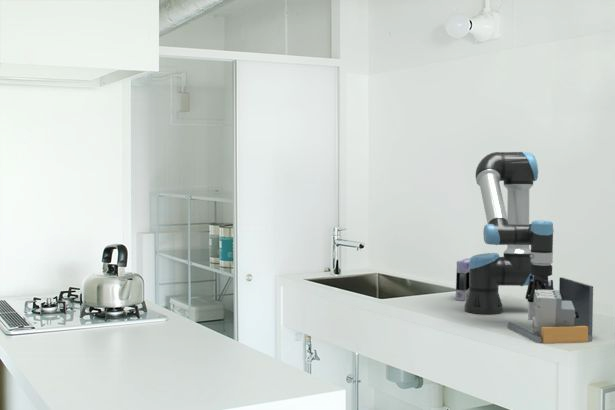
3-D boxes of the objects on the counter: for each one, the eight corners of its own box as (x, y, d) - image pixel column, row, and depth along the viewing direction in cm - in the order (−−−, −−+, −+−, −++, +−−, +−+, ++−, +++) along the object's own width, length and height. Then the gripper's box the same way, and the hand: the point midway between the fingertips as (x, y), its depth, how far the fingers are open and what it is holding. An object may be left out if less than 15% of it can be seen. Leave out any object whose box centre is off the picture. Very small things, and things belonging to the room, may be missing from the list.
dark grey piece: (507, 327, 281) (508, 278, 280) (561, 326, 284) (562, 277, 283) (537, 342, 256) (538, 288, 255) (596, 340, 259) (597, 287, 258)
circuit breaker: (578, 340, 260) (580, 299, 256) (534, 338, 262) (536, 297, 258) (575, 331, 267) (577, 290, 263) (532, 329, 269) (534, 289, 265)
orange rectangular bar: (541, 341, 257) (541, 327, 257) (585, 340, 260) (585, 325, 259) (543, 343, 255) (544, 328, 255) (588, 341, 258) (588, 326, 257)
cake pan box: (464, 301, 337) (465, 261, 336) (453, 300, 339) (454, 260, 338) (480, 295, 353) (480, 257, 352) (470, 294, 355) (470, 256, 355)
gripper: (517, 260, 286) (515, 317, 287) (547, 268, 262) (545, 330, 263) (536, 260, 287) (534, 316, 288) (567, 268, 263) (566, 330, 264)
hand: (540, 323), depth 275 cm, fingers open, 13 cm apart
